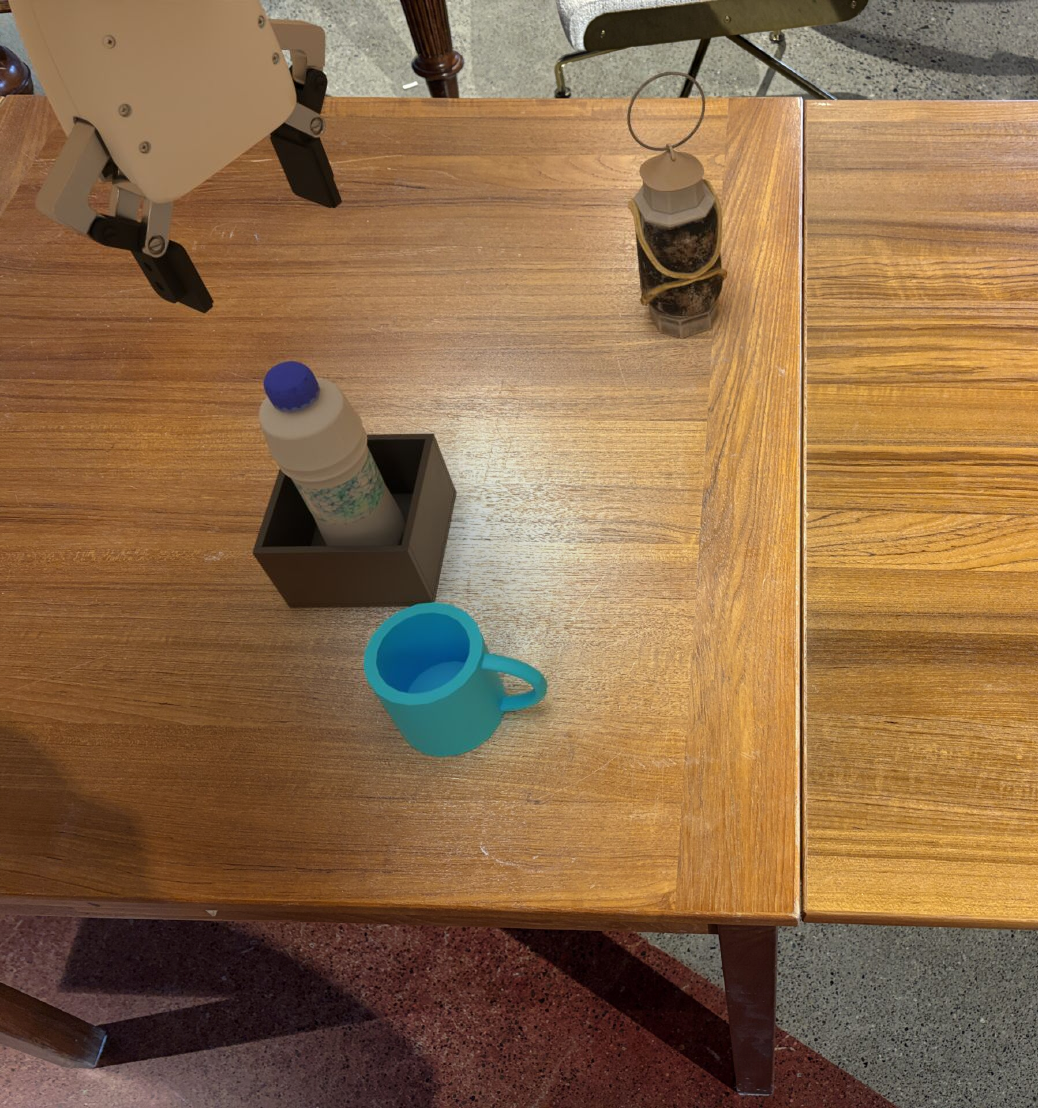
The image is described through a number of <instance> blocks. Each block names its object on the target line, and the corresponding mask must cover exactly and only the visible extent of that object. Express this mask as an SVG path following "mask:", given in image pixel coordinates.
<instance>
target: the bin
mask: <svg viewBox="0 0 1038 1108" xmlns="http://www.w3.org/2000/svg"><path fill="white" fill-rule="evenodd" d="M366 434H367V433H366ZM367 446H368V449H369V451H370V453H371V455H372V457H373V459H374V461H375V463H376V466H377V468H378V470H379V472H380V474H381V476H382V478H383V481H384V483H385V485H386V487H387V488H388V490H389V492H390V493H391V495H392V497H393V498H394V500H395V502H396V503H397V505H398V507H399V509H400V511H401V513H402V516H403V519H404V522H405V526H406V527H405V531H404V535H403V540H402V543H400V544H399V545H376V546H327V544H326V543H325V541H324V539H323V537H322V535H321V532H320V530H319V528H318V525H317V523H316V521H315V519H314V517H313V515H312V513H311V512H310V510H309V508H308V507H307V505H306V503H305V501H304V500H303V498H302V496H301V494H300V493H299V491H298V489H297V488H296V486H295V484H294V482H293V481H292V479H291V478H290V477H288V476H287V475H286V474H284V473H283V472H282V471H281V469H280V468H279V470H278V472H277V476H276V479H275V482H274V485H273V488H272V491H271V494H270V496H269V500H268V502H267V506H266V508H265V509H266V510H265V512H264V515H263V518H262V522H261V525H260V527H259V531H258V533H257V537H256V540H255V543H254V547H253V549H252V555H253V557H254V558H255V559H256V561H257V562H258V564H259V565H260V566H261V569H262V570H263V571H264V573H265V574H266V575H267V577H268V578H269V580H270V581H271V583H272V584H273V586H274V588H276V590H277V591H278V593H279V594H280V596H281V597H282V598H283V600H284V602H285V603H286V605H287V607H289V608H290V609H291V608H293V609H294V608H296V609H297V608H373V607H374V608H375V607H376V608H378V607H379V608H380V607H381V608H383V607H385V608H386V607H411V606H414V605H417V604H423V603H433V602H436V597H437V592H438V587H439V582H440V577H441V573H442V572H441V571H442V567H443V561H444V557H445V552H446V548H447V541H448V537H449V533H450V527H451V522H452V517H453V512H454V508H455V507H454V506H455V501H456V496H457V490H456V488H455V484H454V481H453V479H452V477H451V474H450V471H449V468H448V466H447V464H446V461H445V459H444V456H443V453H442V451H441V448H440V446H439V443H438V440H437V438H436V435H435V433H432V432H431V433H375V434H373V433H371V434H367Z"/></svg>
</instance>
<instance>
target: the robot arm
mask: <svg viewBox="0 0 1038 1108" xmlns="http://www.w3.org/2000/svg"><path fill="white" fill-rule="evenodd" d="M7 2H8V6H9V8H10V11H11V13H12V16H13V19H14V22H15V25H16V29H17V31H18V34H19V36H20V38H21V41H22V43H23V47H24V49H25V51H26V54H27V56H28V58H29V61H30V63H31V66H32V69H33V70H34V72H35V75H36V77H37V79H38V81H39V83H40V85H41V88H42V90H43V91H44V94H45V96H46V98H47V100H48V102H49V104H50V106H51V108H52V111H53V113H54V114H55V117H56V119H57V120H58V122H59V124H60V126H61V128H62V130H63V132H64V134H65V136H66V137H67V139H66V140H65V142H64V144H63V146H62V148H61V149H60V152H59V154H58V155H57V157H56V159H55V161H54V163H53V165H52V167H51V168H50V170H49V171H48V174H47V175H46V178H45V179H44V181H43V183H42V185H41V186H40V189H39V191H38V192H37V194H36V196H35V199H34V206H35V208H36V210H37V211H39V213H41V214H43V215H44V216H46V217H47V218H50V219H51V220H53V221H55V222H56V223H58V224H60V225H62V226H64V227H65V228H67V229H69V230H71V231H73V232H75V233H76V234H77V235H79V236H81V237H83V238H85V239H88V240H90V241H93V242H94V243H97V244H99V245H102V246H104V247H108V248H113V249H119V250H124V251H130V253H131V254H132V256H133V257H134V260H135V262H136V263H137V265H138V266H139V268H140V270H141V271H142V273H143V275H144V276H145V278H146V280H147V281H148V283H149V285H150V286H151V288H152V289H153V291H154V292H155V293H156V294H157V295H158V296H159V297H160V298H161V299H163V300H164V301H167V302H169V303H171V304H177V303H179V304H181V305H184V306H186V307H189V308H191V309H193V310H194V311H198V312H200V313H202V314H207V312H209V311H210V310H212V308H214V305H213V304H214V303H215V301H214V298H213V297H212V295H211V293H210V292H209V290H208V288H207V286H206V285H205V283H204V280H203V279H202V277H201V275H200V274H199V272H198V270H197V268H196V266H195V264H194V263H193V261H192V259H191V257H190V255H189V253H188V251H187V250H186V248H185V247H184V246H183V245H182V243H179V242H176V241H173V240H171V239H170V235H171V228H172V221H173V214H174V207H175V201H176V200H179V199H180V198H182V197H184V196H185V195H187V194H189V193H190V192H192V191H193V190H195V189H196V188H197V187H199V186H200V185H201V184H203V183H205V182H206V181H207V180H208V179H210V178H211V177H213V176H214V175H215V174H217V173H219V171H221V170H223V169H224V168H225V167H226V166H228V165H230V164H231V163H232V162H233V161H235V160H236V159H237V158H239V157H240V156H243V154H245V153H246V152H247V151H249V150H250V149H251V148H253V147H254V146H255V145H257V144H258V143H260V142H261V141H262V140H263V139H265V138H266V137H268V136H269V135H270V136H269V139H270V143H271V144H272V147H273V149H274V152H275V154H276V156H277V159H278V161H279V164H280V166H281V168H282V170H283V173H284V175H285V177H286V180H287V182H288V184H289V187H290V190H291V191H292V193H293V194H294V195H295V196H296V197H299V198H301V199H304V200H306V201H309V202H311V203H312V202H313V203H314V204H316V205H320V206H323V207H325V208H327V209H336V208H337V207H338V206H340V205H341V204H342V203H343V199H342V197H341V194H340V191H339V189H338V186H337V184H336V181H335V179H334V178H335V173H334V171H333V168H332V165H331V163H330V161H329V157H328V155H327V153H326V150H325V148H324V145H323V142H322V140H321V137H322V136H323V134H324V133H325V131H326V126H327V125H326V119H325V118H324V116H323V115H322V110H323V106H324V102H325V98H326V93H327V89H328V84H329V83H328V82H329V81H328V77H327V74H326V73H325V72H324V67H326V33H325V30H324V28H323V27H322V26H320V25H317V24H314V23H310V22H308V21H304V20H300V19H299V20H298V19H282V18H281V19H280V18H268V16H267V14H266V12H265V9H264V7H263V6H262V4H261V1H260V0H7ZM283 51H289V55H290V59H289V60H290V62H291V64H290V66H289V65H288V63H287V60H286V58H285V55H284V52H283ZM97 182H100V183H102V184H104V185H105V184H107V183H111V187H110V194H109V204H108V212H107V214H105V213H101V212H98V211H97V210H95V209H94V208H92V207H91V204H90V203H89V198H90V195H91V193H92V191H93V190H94V187H95V185H96V183H97ZM142 198H143V204H142V211H141V219H140V221H139V215H140V208H141V200H142Z"/></svg>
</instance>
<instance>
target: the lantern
mask: <svg viewBox="0 0 1038 1108" xmlns="http://www.w3.org/2000/svg"><path fill="white" fill-rule="evenodd" d="M667 76H680V77H683V78H686V79H688V80H689V81H690V82H692V83H693V84H694V85H695V87H696V88H697V89H698V92H699V93H700V96H701V103H702V104H701V112H700V117H699V119H698V121H697V124H696V125H695V127H694V128H693V130H692V131H691V132H690V133H689V134H688V135H687V136H686V137H684V138H683V139H682V140H681V141H679V142H677V143H675V144H671V143H670V142H667V143H666V144H665V146H664V147H654V146H649V145H647V144H645V143H644V142H642V141H641V140H640V139H639V138H638V137H637V136H636V134H635V132H634V130H633V128H632V124H631V113H632V108H633V105H634V102H635V101H636V98H637V97H638V95H639V94H640V93H641V92H642V90H644V88H645V87H646V86H648V85H649V84H651V83H652V82H653V81H655V80H657V79H660V78H662V77H667ZM705 112H706V98H705V93H704V91H703V88H702V87H701V85H700V83H699V82H698V81H697V80H696V79H695V78H694V77H693V76H691V75H689V74H687V73H684V72H680V71H672V70H671V71H665V72H661V73H658V74H655V75H654V76H652V77H650V78H648V79H647V80H646V81H644V82H643V83H642V84H641V85H640V86H639V87H638V88H637V90H636V91H635V92H634V94H633V96H632V97H631V100H630V103H629V104H628V109H627V114H626V117H627V118H626V119H627V121H626V122H627V127H628V131H629V133H630V135H631V138H633V140H634V141H635V142H636V143H637V144H638V145H640V146H641V147H642V148H645V149H647V150H649V151H655V152H662V153H660V154H657V155H655V156H652V157H650V158H647V159H646V160H645V161H643V162H642V164H641V165H640V166H639V169H638V172H639V176H640V178H641V180H642V185H641V186H640V188H639V189H638V190H637V192H636V193H635V195H634V196H633V198H631V200H628V203H627V209H628V210H629V211H630V213H631V215H632V217H633V222H634V231H635V233H634V234H635V243H636V255H637V264H638V274H639V276H638V277H639V285H640V287H639V288H640V292H641V295H640V298H639V301H640V304H641V305H642V306H645V307H646V306H648V312H649V315H650V317H651V319H652V321H653V322H654V324H655V327H656V328H657V329H658V332H659V333H661V334H665V335H668V336H672V337H675V338H679V339H683V338H686V337H690V336H694V335H696V334H700V333H703V332H706V331H709V330H712V327H713V326H714V324H715V322H716V320H717V318H718V317H719V315H720V314H719V313H720V312H719V302H718V298H719V297H720V295H721V293H722V289H723V284H724V283H723V282H724V281H725V280H726V279H727V277H728V270H727V269H725V268H723V267H722V266H723V265H722V256H721V254H722V253H721V249H722V241H723V211H722V206H721V202H720V200H719V197H718V195H717V193H716V191H715V189H714V187H713V185H712V183H711V182H710V181H709V180H708V179H706V178H703V177H704V175H705V168H704V166H703V163H702V162H701V160H699V159H698V158H697V157H696V156H695V155H694V154H691V153H689V152H685V151H676V150H675V148H678V147H680V146H682V145H684V144H685V143H686V142H687V141H689V140H690V139H691V138H692V137H693V136H694V135H695V133H696V132H697V131H698V129H699V128H700V126H701V124H702V122H703V119H704V116H705Z"/></svg>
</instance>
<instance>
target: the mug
mask: <svg viewBox="0 0 1038 1108" xmlns="http://www.w3.org/2000/svg"><path fill="white" fill-rule="evenodd" d="M362 668H363V671H364V674H365V679H366V682H367V683H368V685H369V687H370V688H371V690H372V691H373V692H374V694H375V696H376V697H377V699H378V700H379V702H380V703H381V705H382V707H383V708H384V709H385V711H386V713H387V714H388V716H389V718H390V719H391V721H392V722H393V724H394V725H395V727H396V728H397V729H398V731H399V733H400V734H401V736H402V737H403V738H404V740H405V741H406V742H407V744H408V745H409V746H410V747H412V748H413V749H415V750H416V751H418V752H420V753H422V754H423V755H428V756H433V757H439V758H444V757H456V756H460V755H462V754H465V753H468V752H471V751H472V750H475V749H476V748H478V747H479V746H480V745H482V744H483V743H484V742H486V741H487V740H489V739H491V737H492V735H493V734H494V733H495V731H496V730H497V728H498V727H499V726H500V725H501V723H502V720H503V717H504V714H505V712H512V711H519V710H524V709H527V708H530V707H533V706H535V705H538V704H539V703H540V702H541V701H542V700H543V699H544V698H545V697H546V696H547V693H548V680H547V679H546V678H545V676H544V674H543V673H542V672H541V671H540V670H539V669H537V668H535V667H534V666H532V665H531V664H529V663H527V662H524V661H521V660H518V659H516V658H514V657H509V656H505V655H500V654H495V653H490V651H489V648H488V646H487V643H486V641H485V639H484V636H483V634H482V631H481V630H480V627H479V624H478V623H477V622H476V621H475V620H474V619H473V617H472V616H471V615H470V613H468V612H467V611H465V610H464V609H461V608H459V607H457V606H455V605H454V604H448V603H443V602H437V601H435V602H433V603H423V604H417V605H414V606H407V607H406V608H403V609H400V610H399V611H397V612H396V613H394V614H393V615H391V616H390V617H388V618H387V619H385V620H383V622H382V623H381V624H380V625H379V626H378V628H376V630H375V631H374V632H373V633H372V634H371V637H370V638H369V641H368V643H367V645H366V647H365V649H364V656H363V664H362ZM499 673H501V674H505V675H506V674H507V675H509V676H512V677H514V678H518V679H520V680H522V681H524V682H526V683H528V684H529V685H531V687H532V688H533V689H531V690H528V691H526V692H524V693H519V694H518V693H517V694H512V695H507V692H506V688H505V687H504V684H503V680H502V678H501V676H500V674H499Z"/></svg>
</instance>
